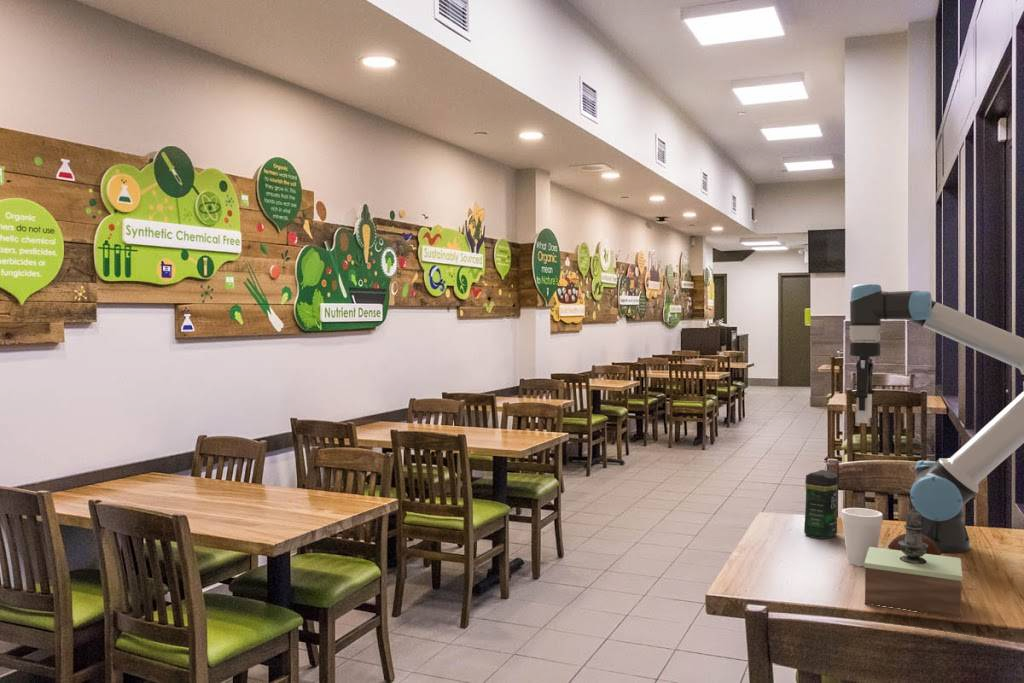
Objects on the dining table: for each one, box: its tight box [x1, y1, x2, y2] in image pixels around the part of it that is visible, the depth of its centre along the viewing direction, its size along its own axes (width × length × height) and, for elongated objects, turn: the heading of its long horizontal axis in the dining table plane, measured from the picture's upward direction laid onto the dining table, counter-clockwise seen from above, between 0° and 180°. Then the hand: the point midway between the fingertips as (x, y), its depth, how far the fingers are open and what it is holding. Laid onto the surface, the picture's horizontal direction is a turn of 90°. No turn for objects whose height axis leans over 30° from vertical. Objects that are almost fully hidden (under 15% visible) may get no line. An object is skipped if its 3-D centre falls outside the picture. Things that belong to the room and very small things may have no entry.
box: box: [864, 567, 962, 620], centre depth 171 cm, size 14×18×8 cm
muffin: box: [887, 533, 943, 556], centre depth 188 cm, size 12×11×10 cm
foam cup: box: [841, 507, 884, 567], centre depth 198 cm, size 10×9×13 cm
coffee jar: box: [803, 469, 839, 539], centre depth 224 cm, size 10×8×19 cm
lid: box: [863, 547, 963, 582], centre depth 172 cm, size 15×18×2 cm
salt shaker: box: [898, 505, 929, 564], centre depth 171 cm, size 6×6×12 cm
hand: (864, 420), depth 211 cm, fingers open, 13 cm apart
